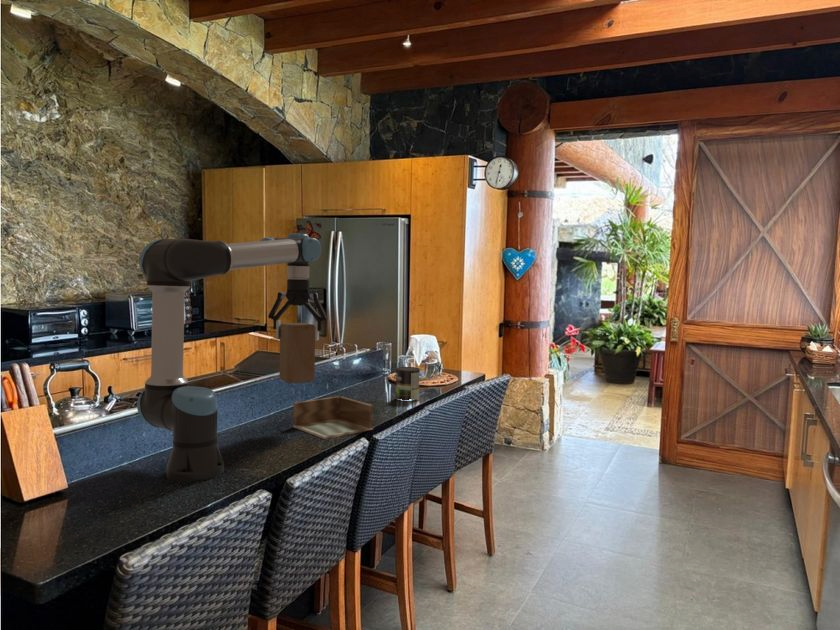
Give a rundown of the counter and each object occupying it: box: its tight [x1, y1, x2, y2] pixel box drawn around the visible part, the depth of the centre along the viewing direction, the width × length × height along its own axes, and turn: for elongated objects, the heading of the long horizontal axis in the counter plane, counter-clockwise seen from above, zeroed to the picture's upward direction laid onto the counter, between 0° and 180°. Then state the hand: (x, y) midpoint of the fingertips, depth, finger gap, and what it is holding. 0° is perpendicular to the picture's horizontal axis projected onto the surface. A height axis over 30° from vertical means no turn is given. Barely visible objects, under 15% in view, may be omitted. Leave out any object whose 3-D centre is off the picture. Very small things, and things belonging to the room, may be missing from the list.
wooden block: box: [279, 322, 316, 384], centre depth 223 cm, size 10×10×20 cm
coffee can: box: [395, 366, 421, 400], centre depth 275 cm, size 10×10×14 cm
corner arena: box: [293, 395, 374, 440], centre depth 226 cm, size 20×20×9 cm
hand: (297, 339), depth 223 cm, fingers closed on wooden block, 13 cm apart
